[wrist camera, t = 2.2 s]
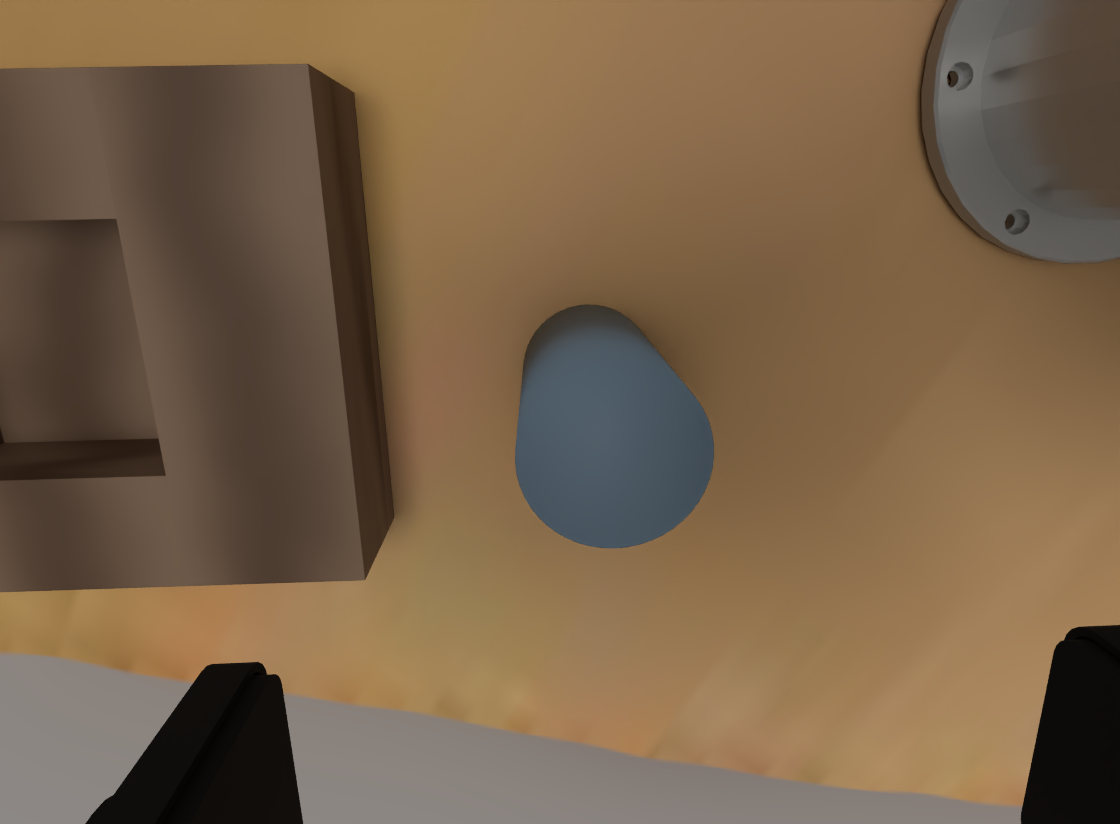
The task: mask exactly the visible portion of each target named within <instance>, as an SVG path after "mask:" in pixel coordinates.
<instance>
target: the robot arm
mask: <svg viewBox="0 0 1120 824" xmlns="http://www.w3.org/2000/svg"><path fill="white" fill-rule="evenodd" d="M948 74H949V75H950V77H951V83H950V86H949V85H948V82H947V75H948ZM922 130H923V135H924V140H925V145H926V149H927V154H928V159H929V163H930V165H931V167H932V170H933V172H934V175H935V177H936V179H937V182H938V184H939V186H940V189H941V191H942V193H943V194H944V195H945V197H946V198H947V200H948V201H949V203H950V204H951V205H952V207H953V208H954V210H955V211H956V213H957V214H958V215H959V217H960V218H961V219H963V220H964V221H965V222H966V223H967V224H968V225H969V226H970V227H971V228H972V229H974V230H975V231H976V232H977V233H978V234H979V235H980V236H981V237H983V238H985V239H986V240H988V241H990V242H992V243H994V244H995V245H997V246H999V247H1001V248H1002V249H1004V250H1006V251H1008V252H1011V253H1015V254H1018V255H1022V256H1025V257H1028V258H1032V259H1035V260H1043V261H1052V262H1059V263H1100V262H1105V261H1110V260H1114V259H1119V258H1120V0H948V1H947V3H946V5H945V6H944V8H943V10H942V12H941V14H940V17H939V20H938V23H937V26H936V29H935V32H934V35H933V38H932V41H931V44H930V47H929V50H928V53H927V59H926V66H925V72H924V78H923V84H922ZM1006 218H1007V222H1006V224H1005V221H1006ZM86 824H303V820H302V813H301V807H300V800H299V793H298V787H297V780H296V774H295V767H294V761H293V754H292V747H291V741H290V734H289V728H288V721H287V715H286V708H285V702H284V695H283V689H282V683H281V680H280V678H279V676H278V675H276V674H273V675H267V673H266V669H265V668H264V666H263V664H261V663H259V662H250V663H226V664H211V665H208V666H206V667H205V669H204V670H203V671H202V672H201V673H200V674H199V676H198V677H197V679H196V680H195V681H194V683H193V684H192V686H191V687H190V689H189V690H188V691H187V693H186V694H185V696H184V697H183V698H182V700H181V701H180V703H179V704H178V705H177V707H176V708H175V710H174V711H173V712H172V714H171V715H170V717H169V718H168V719H167V721H166V722H165V724H164V725H163V726H162V728H161V729H160V731H159V732H158V733H157V735H156V736H155V738H154V739H153V740H152V742H151V743H150V745H149V746H148V747H147V749H146V750H145V752H144V753H143V755H142V756H141V757H140V759H139V760H138V762H137V763H136V764H135V766H134V767H133V769H132V770H131V771H130V773H129V774H128V775H127V777H126V778H125V780H124V781H123V783H122V784H121V785H120V787H119V788H118V789H117V791H116V793H115V794H114V795H113V796H111V797H109V798H108V799H106V800H105V801H104V802H103V803H102V804H101V805H100V806H99V807H98V808H97V809H96V811H95V812H94V813H93V814H92V815H91V817H90V818H89V820H88V821H87V822H86ZM1021 824H1120V625H1111V626H1088V627H1077V628H1074V629H1071V630H1070V631H1069V632H1068V633H1067V634H1066V637H1065V639H1064V641H1060V642H1059V643H1058V644H1057V645H1056V648H1055V650H1054V654H1053V659H1052V664H1051V669H1050V674H1049V679H1048V684H1047V689H1046V694H1045V699H1044V703H1043V708H1042V713H1041V718H1040V723H1039V728H1038V733H1037V738H1036V743H1035V748H1034V753H1033V758H1032V763H1031V768H1030V773H1029V778H1028V782H1027V787H1026V792H1025V797H1024V802H1023V807H1022V812H1021Z"/></svg>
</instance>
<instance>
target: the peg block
mask: <svg viewBox="0 0 1120 824" xmlns="http://www.w3.org/2000/svg"><path fill="white" fill-rule="evenodd" d="M393 519H394V511H393V501H392V490H391V479H390V469H389V458H388V448H387V437H386V427H385V416H384V406H383V395H382V385H381V374H380V364H379V353H378V343H377V332H376V322H375V311H374V301H373V290H372V280H371V269H370V259H369V248H368V237H367V227H366V216H365V206H364V195H363V185H362V174H361V164H360V153H359V143H358V132H357V122H356V111H355V101H354V92H352V91H351V90H349V89H348V88H346V87H344V86H343V85H341V84H339V83H338V82H336V81H335V80H333V79H331V78H330V77H328V76H327V75H325V74H323V73H322V72H320V71H319V70H317V69H315V68H314V67H312V66H310V65H309V64H268V65H205V66H141V67H78V68H15V69H0V592H21V591H51V590H82V589H112V588H142V587H172V586H203V585H233V584H263V583H294V582H324V581H354V580H365V579H366V577H367V575H368V573H369V571H370V568H371V566H372V564H373V562H374V560H375V558H376V556H377V553H378V551H379V549H380V547H381V545H382V543H383V540H384V538H385V536H386V534H387V532H388V530H389V527H390V525H391V523H392V521H393Z"/></svg>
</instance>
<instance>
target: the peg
mask: <svg viewBox="0 0 1120 824" xmlns="http://www.w3.org/2000/svg"><path fill="white" fill-rule="evenodd" d="M713 459H714V442H713V436H712V431H711V427H710V424H709V421H708V418H707V416H706V414H705V412H704V410H703V408H702V406H701V405H700V403H699V402H698V400H697V399H696V397H695V396H694V395H693V394H692V393H691V391H690V390H689V389H688V388H687V387H686V385H685V384H684V383H683V382H682V380H681V379H680V378H679V377H678V376H677V374H676V373H675V372H674V371H673V370H672V368H671V367H670V366H669V365H668V363H667V362H666V361H665V360H664V359H663V357H662V356H661V355H660V354H659V353H658V351H657V350H656V349H655V348H654V346H653V345H652V344H651V343H650V342H649V340H648V339H647V338H646V337H645V336H644V334H643V333H642V332H641V331H640V329H639V328H638V327H637V326H636V325H635V324H634V323H633V322H632V321H631V320H630V319H629V318H627V317H626V316H624V315H623V314H621V313H620V312H618V311H615V310H613V309H611V308H607V307H604V306H598V305H578V306H574V307H570V308H567V309H564V310H562V311H560V312H558V313H556V314H554V315H553V316H551V317H550V318H548V319H547V320H546V321H545V322H544V323H543V324H542V325H541V326H540V327H539V328H538V329H537V331H536V332H535V333H534V335H533V336H532V338H531V340H530V342H529V344H528V346H527V350H526V353H525V358H524V364H523V375H522V386H521V396H520V407H519V418H518V428H517V439H516V451H515V464H516V473H517V477H518V481H519V485H520V487H521V490H522V492H523V495H524V497H525V499H526V500H527V502H528V504H529V506H530V507H531V508H532V510H533V511H534V512H535V514H536V515H537V516H538V517H539V518H540V519H541V520H542V521H543V522H544V523H545V524H546V525H547V526H549V527H550V528H551V529H553V530H554V531H555V532H557V533H558V534H560V535H562V536H564V537H565V538H567V539H570V540H572V541H575V542H577V543H580V544H584V545H588V546H592V547H599V548H623V547H630V546H635V545H640V544H643V543H645V542H648V541H651V540H653V539H656V538H658V537H660V536H662V535H664V534H665V533H667V532H668V531H670V530H672V529H673V528H674V527H676V526H677V525H678V524H679V523H680V522H682V521H683V520H684V519H685V518H686V517H687V516H688V515H689V514H690V513H691V512H692V510H693V509H694V508H695V506H696V505H697V503H698V502H699V501H700V499H701V497H702V495H703V493H704V492H705V489H706V487H707V485H708V482H709V480H710V476H711V472H712V468H713Z"/></svg>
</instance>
